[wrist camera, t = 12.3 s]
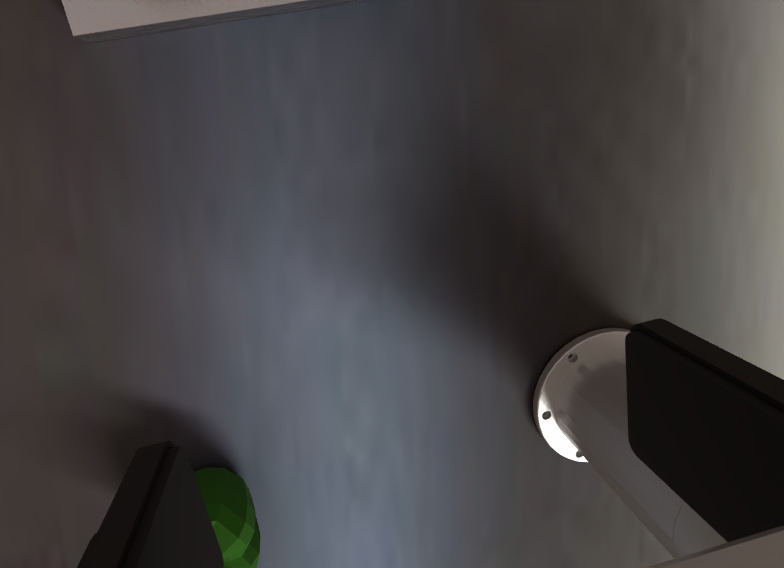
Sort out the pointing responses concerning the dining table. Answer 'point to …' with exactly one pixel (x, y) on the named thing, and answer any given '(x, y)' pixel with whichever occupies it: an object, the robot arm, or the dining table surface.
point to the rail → (169, 14)
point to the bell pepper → (231, 516)
